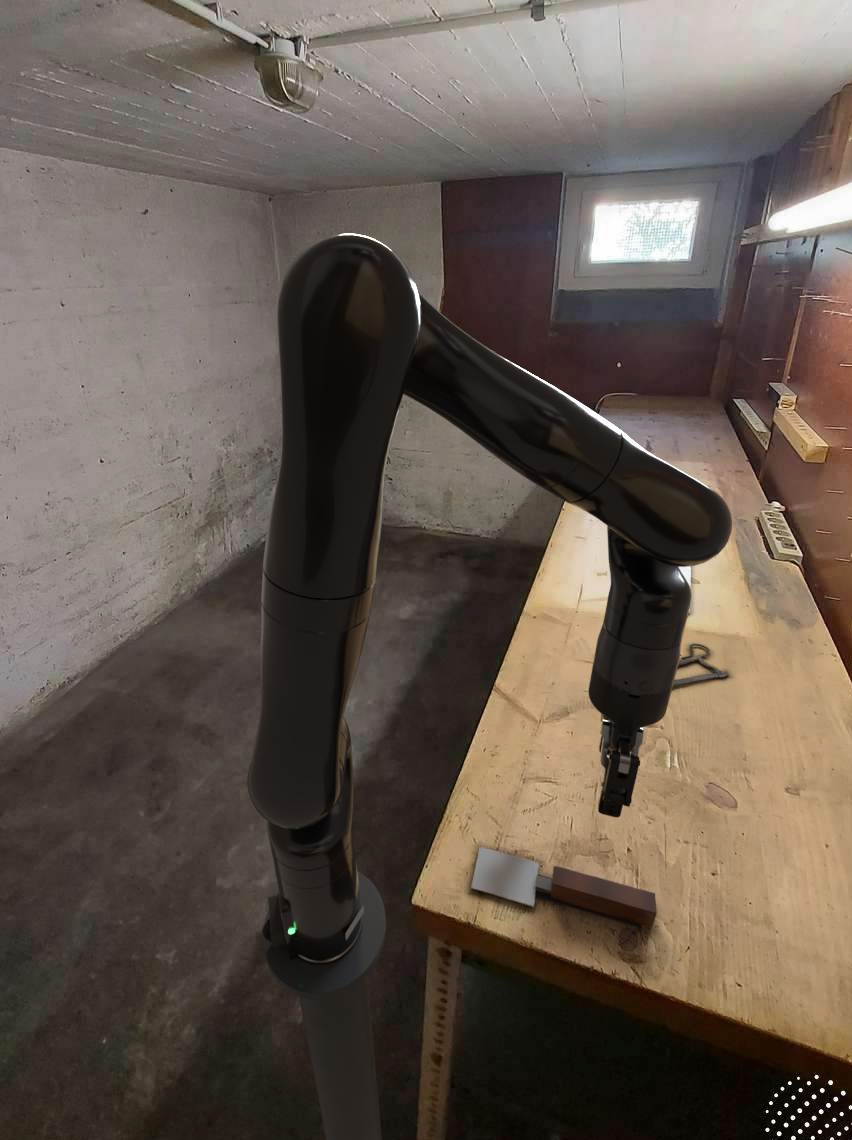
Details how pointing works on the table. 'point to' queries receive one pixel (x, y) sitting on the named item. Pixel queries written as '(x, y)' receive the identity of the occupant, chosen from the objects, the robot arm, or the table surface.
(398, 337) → the robot arm
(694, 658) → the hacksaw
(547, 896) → the edge strip
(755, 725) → the table surface
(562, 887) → the scraper
